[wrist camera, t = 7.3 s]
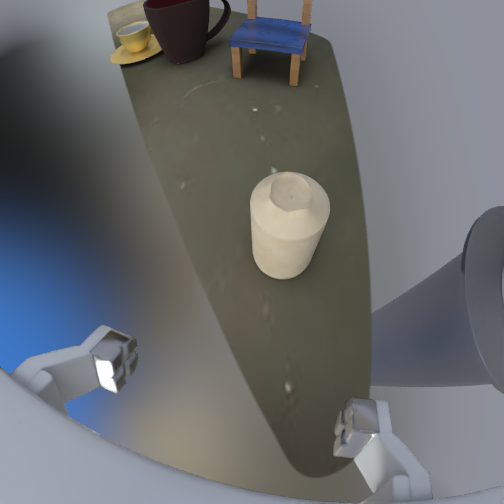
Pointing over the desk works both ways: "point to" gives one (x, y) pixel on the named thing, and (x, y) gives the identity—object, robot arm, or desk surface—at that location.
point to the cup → (135, 43)
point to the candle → (287, 223)
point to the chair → (272, 38)
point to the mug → (182, 26)
